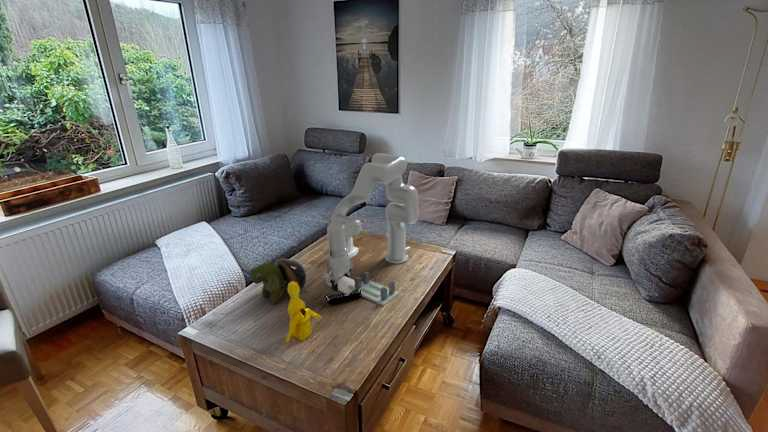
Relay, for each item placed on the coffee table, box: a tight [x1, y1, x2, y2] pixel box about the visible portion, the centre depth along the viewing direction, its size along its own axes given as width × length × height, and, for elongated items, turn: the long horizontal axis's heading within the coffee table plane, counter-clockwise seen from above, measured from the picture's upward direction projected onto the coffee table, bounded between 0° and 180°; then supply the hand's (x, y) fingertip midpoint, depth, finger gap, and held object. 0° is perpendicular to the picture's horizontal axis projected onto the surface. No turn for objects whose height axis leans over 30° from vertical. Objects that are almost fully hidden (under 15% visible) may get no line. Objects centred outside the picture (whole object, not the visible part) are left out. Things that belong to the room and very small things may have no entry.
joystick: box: [346, 237, 359, 259], centre depth 200 cm, size 11×8×20 cm
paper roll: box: [325, 275, 355, 295], centre depth 163 cm, size 7×15×7 cm, turn 52°
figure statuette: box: [285, 281, 323, 343], centre depth 138 cm, size 18×8×22 cm, turn 144°
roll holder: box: [354, 271, 400, 307], centre depth 167 cm, size 11×19×6 cm, turn 52°
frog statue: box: [250, 258, 307, 305], centre depth 163 cm, size 19×16×25 cm
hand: (340, 286), depth 164 cm, fingers closed on paper roll, 6 cm apart
